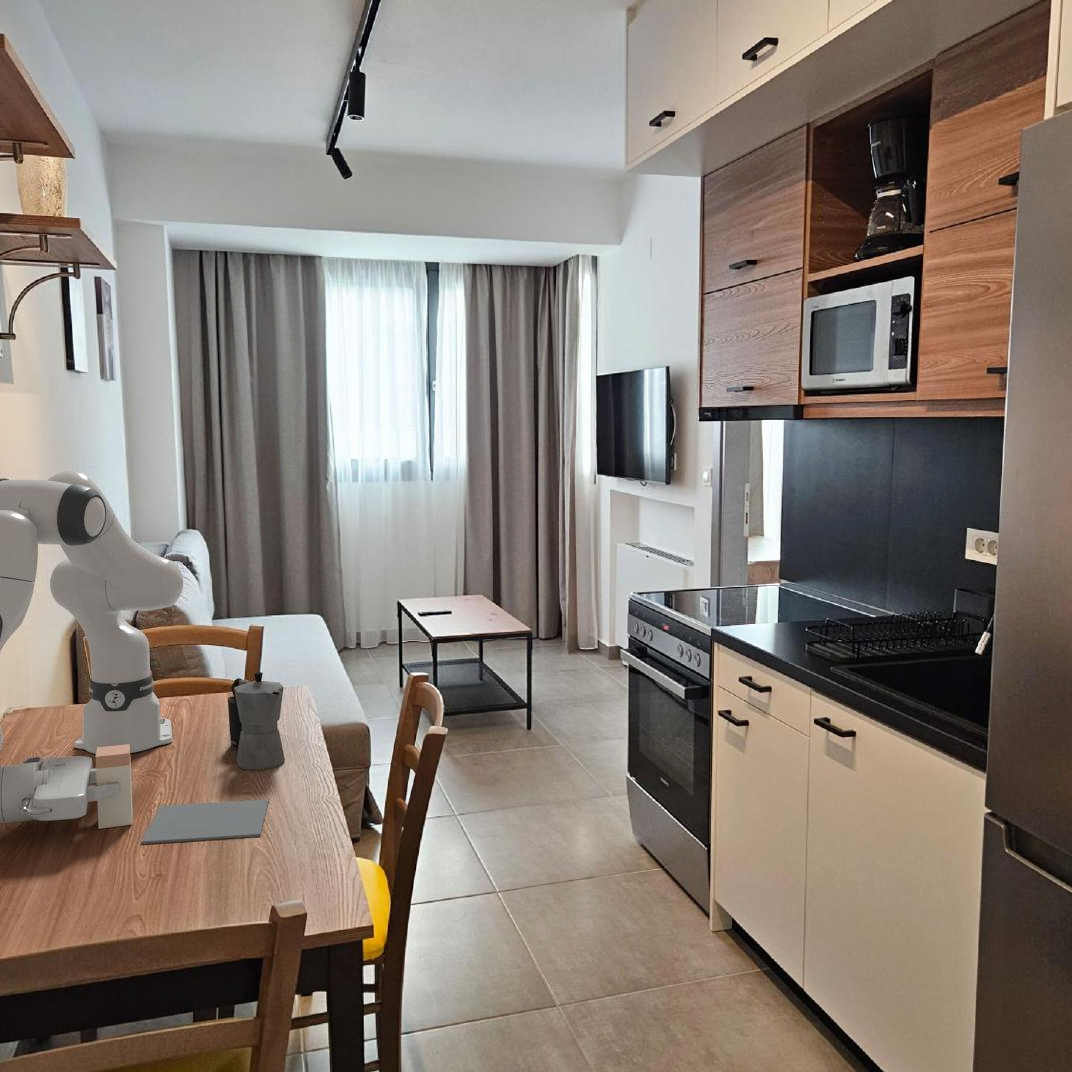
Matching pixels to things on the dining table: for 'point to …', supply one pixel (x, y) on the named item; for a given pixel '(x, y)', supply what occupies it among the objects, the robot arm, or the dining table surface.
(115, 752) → the pillar
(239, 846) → the dining table surface
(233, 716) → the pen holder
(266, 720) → the coffeepot
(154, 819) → the mat
